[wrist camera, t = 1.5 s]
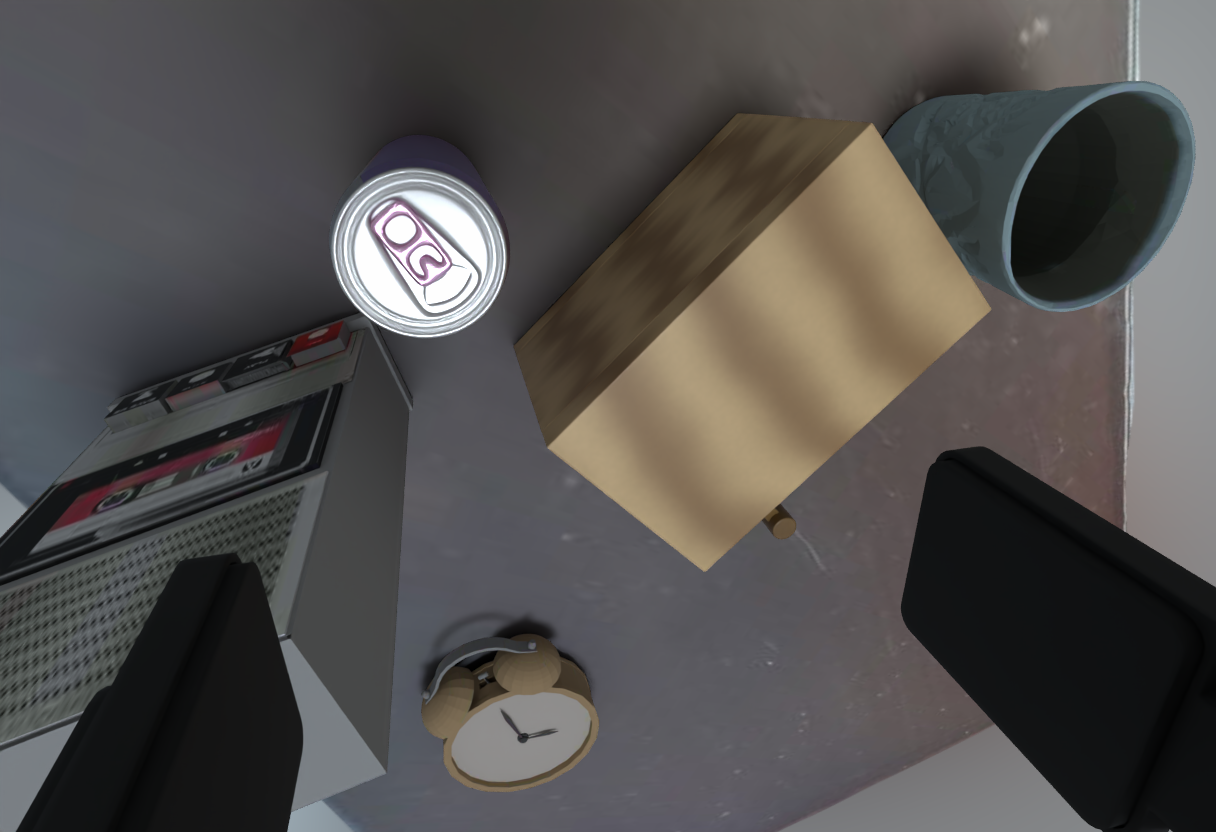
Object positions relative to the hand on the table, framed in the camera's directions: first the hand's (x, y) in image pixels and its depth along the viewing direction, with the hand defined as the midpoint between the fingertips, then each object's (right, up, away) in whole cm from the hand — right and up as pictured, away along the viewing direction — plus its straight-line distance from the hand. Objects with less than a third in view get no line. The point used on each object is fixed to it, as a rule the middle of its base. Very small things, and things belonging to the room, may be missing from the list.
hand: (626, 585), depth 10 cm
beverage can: (-10, +14, +26) cm, 31 cm away
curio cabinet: (+4, +9, +32) cm, 34 cm away
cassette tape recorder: (-19, +4, +29) cm, 35 cm away
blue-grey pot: (+19, +17, +32) cm, 41 cm away
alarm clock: (-8, -18, +42) cm, 46 cm away
